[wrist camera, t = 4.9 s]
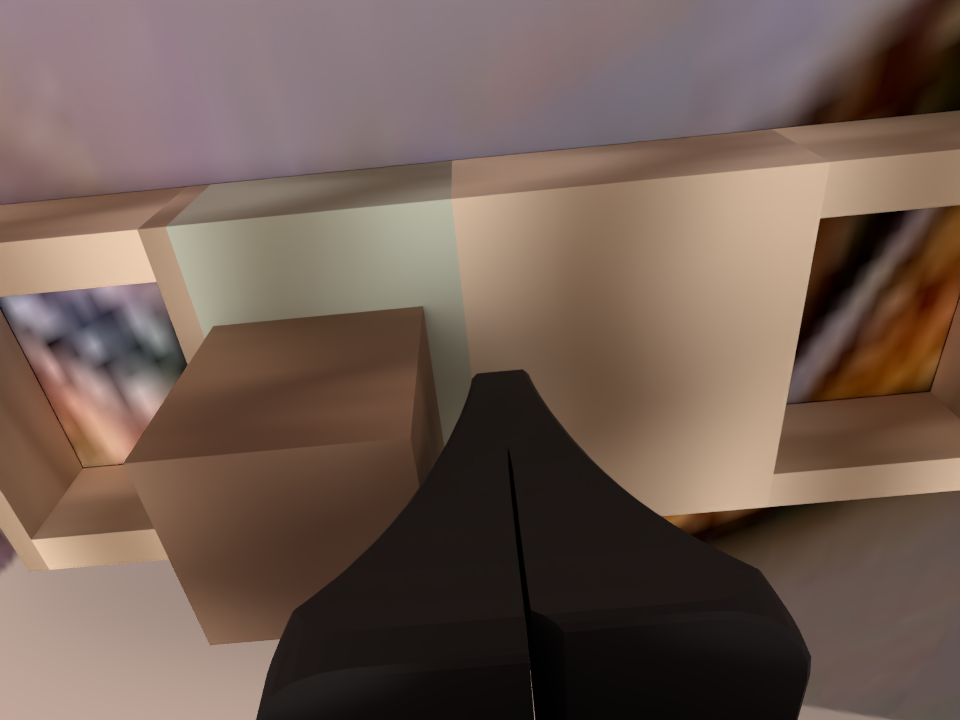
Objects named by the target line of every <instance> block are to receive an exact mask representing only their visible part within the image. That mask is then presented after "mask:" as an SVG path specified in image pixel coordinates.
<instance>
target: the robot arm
mask: <svg viewBox="0 0 960 720" xmlns="http://www.w3.org/2000/svg"><path fill="white" fill-rule="evenodd" d="M525 622H526V624H525ZM526 631H527V633H526ZM527 641H528V643H527ZM528 651H529V653H528ZM529 661H530V663H529ZM810 667H811V656H810V653H809V651H808V649H807V646H806V644H805V642H804V639H803V637H802V635H801V633H800V630H799V629H798V627H797V625H796V623H795V621H794V620H793V618H792V616H791V614H790V613H789V611H788V610H787V608H786V607H785V605H784V604H783V603H782V601H781V600H780V598H779V597H778V595H777V594H776V592H775V591H774V589H773V588H772V587H771V585H770V584H769V582H768V581H767V579H766V578H765V577H764V575H763V574H762V572H761V571H760V570H759V569H757V568H755V567H753V566H750V565H748V564H746V563H744V562H742V561H740V560H738V559H736V558H734V557H732V556H730V555H728V554H726V553H724V552H722V551H720V550H718V549H716V548H714V547H712V546H710V545H708V544H706V543H704V542H702V541H700V540H699V539H697V538H695V537H693V536H692V535H690V534H688V533H687V532H685V531H683V530H682V529H680V528H678V527H676V526H675V525H673V524H672V523H670V522H669V521H667V520H666V519H664V518H663V517H661V516H660V515H659V514H657V513H656V512H654V511H653V510H651V509H650V508H648V507H647V506H646V505H644V504H643V503H641V502H640V501H638V500H637V499H636V498H635V497H634V496H632V495H631V494H630V493H629V492H627V491H626V490H625V489H624V488H622V487H621V486H620V485H619V484H618V483H617V482H616V481H614V480H613V479H612V478H611V477H610V476H609V475H608V474H607V473H605V472H604V471H603V470H602V469H601V468H600V467H599V466H598V465H597V464H596V463H595V462H594V461H593V460H592V459H591V458H590V457H589V456H588V455H587V454H586V453H585V451H584V450H583V449H582V448H581V447H580V446H579V445H578V444H577V443H576V442H575V441H574V439H573V438H572V437H571V436H570V435H569V434H568V432H567V431H566V430H565V429H564V427H563V426H562V425H561V424H560V422H559V421H558V420H557V418H556V417H555V416H554V415H553V413H552V412H551V411H550V409H549V408H548V406H547V405H546V403H545V402H544V400H543V399H542V397H541V396H540V394H539V393H538V391H537V389H536V388H535V386H534V384H533V382H532V380H531V378H530V376H529V374H528V373H527V372H526V371H524V370H523V369H520V370H509V371H498V372H487V373H477V374H476V375H475V376H474V377H473V378H472V380H471V386H470V389H469V393H468V396H467V399H466V402H465V404H464V407H463V409H462V412H461V414H460V417H459V419H458V421H457V423H456V425H455V427H454V429H453V432H452V434H451V436H450V438H449V440H448V442H447V444H446V445H445V447H444V449H443V451H442V452H441V454H440V456H439V457H438V459H437V461H436V463H435V464H434V466H433V468H432V469H431V471H430V473H429V474H428V476H427V477H426V479H425V480H424V482H423V483H422V485H421V486H420V488H419V489H418V490H417V492H416V493H415V494H414V496H413V497H412V498H411V500H410V501H409V502H408V504H407V505H406V506H405V507H404V509H403V510H402V511H401V512H400V513H399V515H398V516H397V517H396V518H395V520H394V521H393V522H392V523H391V524H390V526H389V527H388V528H387V529H386V530H385V531H384V532H383V533H382V534H381V535H380V537H379V538H378V539H377V540H376V541H375V542H374V543H373V544H372V545H371V546H370V547H369V548H368V549H367V550H365V551H364V552H363V553H362V554H361V555H360V556H359V557H358V558H357V559H356V560H355V561H354V562H353V563H352V564H351V565H350V566H349V567H348V568H347V569H346V570H345V571H344V572H342V573H341V574H340V575H339V576H338V577H336V578H335V579H334V580H333V581H331V582H330V583H329V584H327V585H326V586H325V587H324V588H322V589H321V590H320V591H318V592H317V593H316V594H315V595H313V596H312V597H311V598H309V599H308V600H307V601H306V602H304V603H303V604H302V605H300V606H299V607H297V608H296V609H295V610H294V611H293V612H292V614H291V616H290V618H289V620H288V622H287V625H286V627H285V629H284V632H283V634H282V636H281V638H280V641H279V644H278V646H277V649H276V651H275V653H274V656H273V658H272V661H271V664H270V667H269V670H268V673H267V677H266V681H265V685H264V689H263V694H262V698H261V702H260V706H259V710H258V714H257V719H256V720H534V712H533V701H534V711H535V720H798V716H799V712H800V709H801V706H802V702H803V698H804V695H805V691H806V687H807V684H808V680H809V676H810ZM530 671H531V675H530ZM531 681H532V687H531ZM531 688H532V689H531ZM532 691H533V699H532Z"/></svg>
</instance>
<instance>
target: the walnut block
mask: <svg viewBox="0 0 960 720" xmlns="http://www.w3.org/2000/svg"><path fill="white" fill-rule="evenodd" d="M443 449H444V442H443V435H442V429H441V422H440V415H439V409H438V402H437V396H436V389H435V382H434V376H433V369H432V362H431V356H430V349H429V343H428V336H427V329H426V323H425V316H424V310H423V306H419V307H409V308H398V309H387V310H377V311H366V312H356V313H345V314H335V315H324V316H314V317H303V318H292V319H282V320H272V321H261V322H251V323H240V324H230V325H219V326H213V327H212V329H211V330H210V332H209V333H208V335H207V336H206V338H205V339H204V341H203V342H202V344H201V346H200V347H199V349H198V350H197V352H196V353H195V355H194V356H193V358H192V359H191V361H190V362H189V364H188V365H187V367H186V369H185V370H184V372H183V373H182V375H181V376H180V378H179V379H178V381H177V382H176V384H175V385H174V387H173V388H172V390H171V391H170V393H169V395H168V396H167V398H166V399H165V401H164V402H163V404H162V405H161V407H160V408H159V410H158V411H157V413H156V414H155V416H154V418H153V419H152V421H151V422H150V424H149V425H148V427H147V428H146V430H145V431H144V433H143V434H142V436H141V437H140V439H139V441H138V442H137V444H136V445H135V447H134V448H133V450H132V451H131V453H130V454H129V456H128V457H127V459H126V460H125V462H124V463H123V464H124V466H125V468H126V470H127V472H128V474H129V476H130V479H131V481H132V483H133V485H134V487H135V489H136V491H137V493H138V495H139V497H140V499H141V502H142V504H143V506H144V508H145V510H146V512H147V514H148V516H149V518H150V520H151V522H152V525H153V527H154V529H155V531H156V533H157V535H158V537H159V539H160V541H161V543H162V545H163V548H164V550H165V552H166V554H167V556H168V558H169V560H170V562H171V564H172V566H173V568H174V571H175V573H176V575H177V577H178V579H179V581H180V583H181V585H182V587H183V589H184V591H185V594H186V596H187V598H188V600H189V602H190V604H191V606H192V608H193V610H194V612H195V614H196V617H197V619H198V621H199V623H200V625H201V627H202V629H203V631H204V633H205V635H206V637H207V639H208V642H209V644H210V645H216V644H228V643H240V642H252V641H264V640H275V639H280V638H281V636H282V634H283V632H284V629H285V627H286V625H287V622H288V620H289V618H290V616H291V614H292V612H293V611H294V610H295V609H296V608H297V607H299V606H300V605H302V604H303V603H304V602H306V601H307V600H308V599H309V598H311V597H312V596H313V595H315V594H316V593H317V592H318V591H320V590H321V589H322V588H324V587H325V586H326V585H327V584H329V583H330V582H331V581H333V580H334V579H335V578H336V577H338V576H339V575H340V574H341V573H342V572H344V571H345V570H346V569H347V568H348V567H349V566H350V565H351V564H352V563H353V562H354V561H355V560H356V559H357V558H358V557H359V556H360V555H361V554H362V553H363V552H364V551H365V550H367V549H368V548H369V547H370V546H371V545H372V544H373V543H374V542H375V541H376V540H377V539H378V538H379V537H380V535H381V534H382V533H383V532H384V531H385V530H386V529H387V528H388V527H389V526H390V524H391V523H392V522H393V521H394V520H395V518H396V517H397V516H398V515H399V513H400V512H401V511H402V510H403V509H404V507H405V506H406V505H407V504H408V502H409V501H410V500H411V498H412V497H413V496H414V494H415V493H416V492H417V490H418V489H419V488H420V486H421V485H422V483H423V482H424V480H425V479H426V477H427V476H428V474H429V473H430V471H431V469H432V468H433V466H434V464H435V463H436V461H437V459H438V457H439V456H440V454H441V452H442V451H443Z"/></svg>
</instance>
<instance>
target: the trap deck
mask: <svg viewBox="0 0 960 720" xmlns="http://www.w3.org/2000/svg"><path fill="white" fill-rule="evenodd" d="M953 205H960V111H950V112H940V113H930V114H920V115H910V116H900V117H890V118H879V119H869V120H859V121H849V122H839V123H829V124H819V125H808V126H798V127H788V128H778V129H768V130H758V131H748V132H737V133H727V134H717V135H707V136H697V137H687V138H677V139H666V140H656V141H646V142H636V143H626V144H616V145H606V146H595V147H585V148H575V149H565V150H555V151H545V152H535V153H524V154H514V155H504V156H494V157H484V158H474V159H464V160H453V161H443V162H433V163H423V164H413V165H403V166H393V167H382V168H372V169H362V170H352V171H342V172H332V173H322V174H311V175H301V176H291V177H281V178H271V179H261V180H251V181H240V182H230V183H220V184H210V185H200V186H190V187H180V188H169V189H159V190H149V191H139V192H129V193H119V194H109V195H98V196H88V197H78V198H68V199H58V200H48V201H38V202H27V203H17V204H7V205H0V297H3V296H14V295H24V294H35V293H45V292H55V291H66V290H76V289H87V288H97V287H108V286H118V285H128V284H139V283H149V282H157V284H158V287H159V289H160V292H161V295H162V297H163V300H164V303H165V305H166V308H167V311H168V313H169V316H170V319H171V321H172V324H173V327H174V329H175V332H176V335H177V337H178V340H179V343H180V345H181V348H182V351H183V353H184V356H185V359H186V362H187V364H189V362H190V361H191V359H192V358H193V356H194V355H195V353H196V352H197V350H198V349H199V347H200V346H201V344H202V342H203V341H204V339H205V338H206V336H207V335H208V333H209V332H210V330H211V329H212V327H213V326H219V325H230V324H240V323H251V322H261V321H272V320H282V319H292V318H303V317H314V316H324V315H335V314H345V313H356V312H366V311H377V310H387V309H398V308H409V307H419V306H423V310H424V316H425V323H426V329H427V336H428V343H429V349H430V356H431V362H432V369H433V376H434V382H435V389H436V396H437V402H438V409H439V415H440V422H441V429H442V435H443V442H444V447H445V445H446V444H447V442H448V440H449V438H450V436H451V434H452V432H453V429H454V427H455V425H456V423H457V421H458V419H459V417H460V414H461V412H462V409H463V407H464V404H465V402H466V399H467V396H468V393H469V389H470V386H471V380H472V378H473V377H474V376H475V375H476V374H477V373H487V372H498V371H509V370H520V369H523V370H524V371H526V372H527V373H528V374H529V376H530V378H531V380H532V382H533V384H534V386H535V388H536V389H537V391H538V393H539V394H540V396H541V397H542V399H543V400H544V402H545V403H546V405H547V406H548V408H549V409H550V411H551V412H552V413H553V415H554V416H555V417H556V418H557V420H558V421H559V422H560V424H561V425H562V426H563V427H564V429H565V430H566V431H567V432H568V434H569V435H570V436H571V437H572V438H573V439H574V441H575V442H576V443H577V444H578V445H579V446H580V447H581V448H582V449H583V450H584V451H585V453H586V454H587V455H588V456H589V457H590V458H591V459H592V460H593V461H594V462H595V463H596V464H597V465H598V466H599V467H600V468H601V469H602V470H603V471H604V472H605V473H607V474H608V475H609V476H610V477H611V478H612V479H613V480H614V481H616V482H617V483H618V484H619V485H620V486H621V487H622V488H624V489H625V490H626V491H627V492H629V493H630V494H631V495H632V496H634V497H635V498H636V499H637V500H638V501H640V502H641V503H643V504H644V505H646V506H647V507H648V508H650V509H651V510H653V511H654V512H656V513H657V514H659V515H660V516H670V515H682V514H693V513H705V512H716V511H728V510H739V509H751V508H762V507H773V506H785V505H796V504H808V503H819V502H831V501H842V500H854V499H865V498H876V497H888V496H899V495H911V494H922V493H934V492H945V491H957V490H960V299H959V303H958V306H957V309H956V312H955V315H954V318H953V322H952V325H951V328H950V331H949V334H948V337H947V341H946V344H945V347H944V350H943V353H942V356H941V360H940V363H939V366H938V369H937V372H936V375H935V379H934V382H933V385H932V388H931V391H930V392H923V393H912V394H901V395H890V396H879V397H868V398H857V399H846V400H835V401H824V402H813V403H802V404H791V405H786V402H787V397H788V391H789V386H790V380H791V375H792V369H793V364H794V359H795V353H796V348H797V342H798V337H799V331H800V326H801V320H802V315H803V309H804V304H805V298H806V293H807V287H808V282H809V276H810V271H811V265H812V260H813V254H814V249H815V243H816V238H817V232H818V227H819V221H820V218H828V217H838V216H849V215H859V214H870V213H880V212H891V211H901V210H911V209H922V208H932V207H943V206H953ZM0 527H1V529H2V530H3V532H4V533H5V535H6V537H7V538H8V540H9V541H10V543H11V544H12V546H13V548H14V549H15V551H16V552H17V554H18V555H19V557H20V558H21V560H22V562H23V563H24V565H25V566H26V568H27V569H28V571H41V570H52V569H63V568H75V567H86V566H98V565H109V564H120V563H132V562H144V561H155V560H167V559H169V558H168V556H167V554H166V552H165V550H164V548H163V545H162V543H161V541H160V539H159V537H158V535H157V533H156V531H155V529H154V527H153V525H152V522H151V520H150V518H149V516H148V514H147V512H146V510H145V508H144V506H143V504H142V502H141V499H140V497H139V495H138V493H137V491H136V489H135V487H134V485H133V483H132V481H131V479H130V476H129V474H128V472H127V470H126V468H125V466H124V465H115V466H104V467H93V468H82V466H81V464H80V462H79V460H78V458H77V456H76V454H75V452H74V450H73V448H72V446H71V445H70V443H69V441H68V439H67V437H66V435H65V433H64V431H63V429H62V427H61V425H60V423H59V421H58V419H57V418H56V416H55V414H54V412H53V410H52V408H51V406H50V404H49V402H48V400H47V398H46V396H45V394H44V392H43V391H42V389H41V387H40V385H39V383H38V381H37V379H36V377H35V375H34V373H33V371H32V369H31V367H30V366H29V364H28V362H27V360H26V358H25V356H24V354H23V352H22V350H21V348H20V346H19V344H18V342H17V340H16V339H15V337H14V335H13V333H12V331H11V329H10V327H9V325H8V323H7V321H6V319H5V317H4V315H3V313H2V312H1V310H0Z"/></svg>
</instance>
